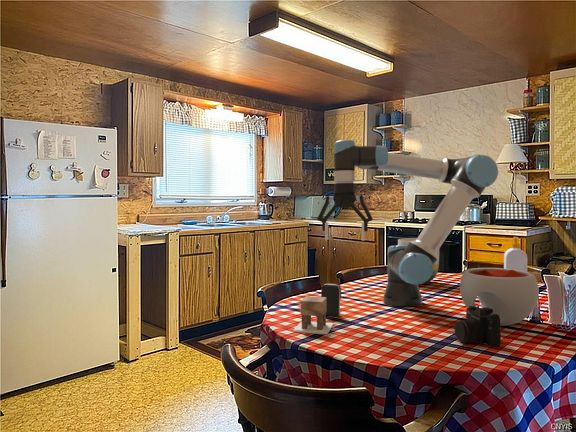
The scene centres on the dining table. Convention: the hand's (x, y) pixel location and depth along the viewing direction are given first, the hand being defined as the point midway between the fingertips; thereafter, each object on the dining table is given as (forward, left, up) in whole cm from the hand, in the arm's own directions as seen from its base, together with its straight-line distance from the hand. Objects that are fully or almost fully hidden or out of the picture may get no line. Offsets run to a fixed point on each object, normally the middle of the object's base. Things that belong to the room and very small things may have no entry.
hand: (344, 240), depth 170 cm
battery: (+4, +6, -27) cm, 28 cm away
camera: (-42, +25, -27) cm, 56 cm away
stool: (+7, +24, -26) cm, 36 cm away
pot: (-52, +2, -27) cm, 59 cm away
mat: (+7, +24, -27) cm, 36 cm away
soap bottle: (-70, -68, -27) cm, 101 cm away
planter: (-26, -64, -27) cm, 74 cm away
